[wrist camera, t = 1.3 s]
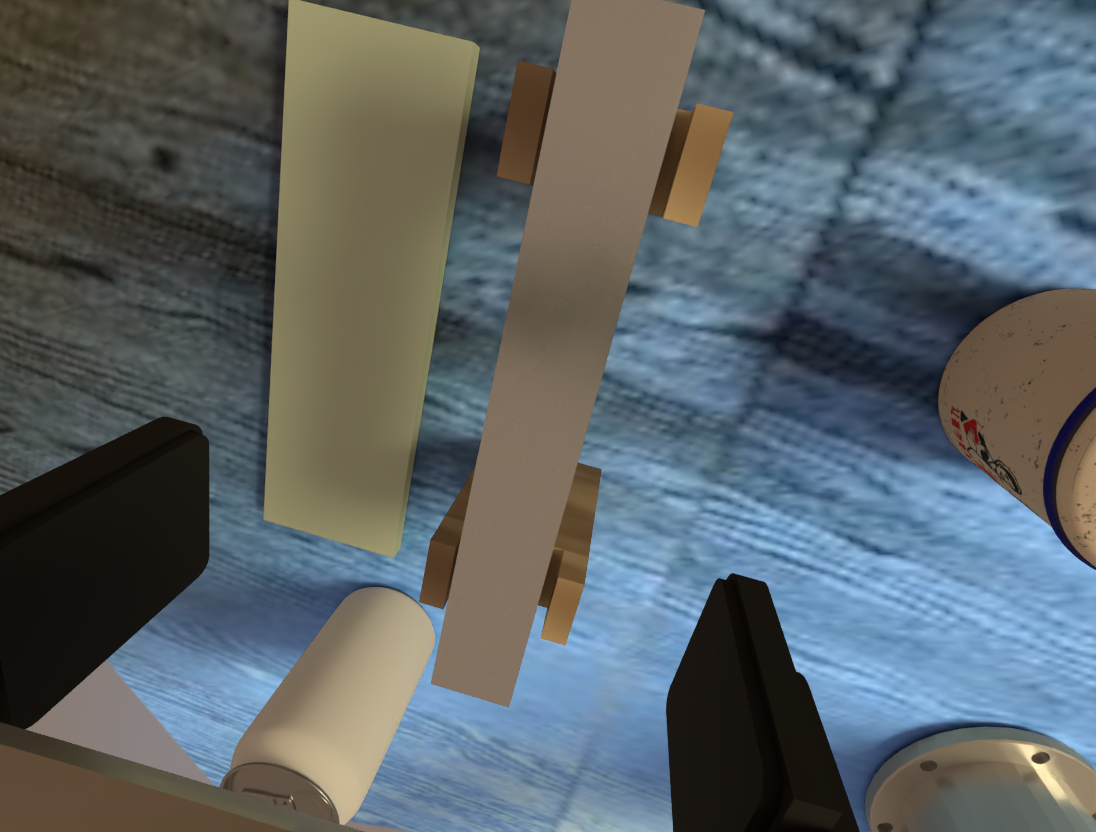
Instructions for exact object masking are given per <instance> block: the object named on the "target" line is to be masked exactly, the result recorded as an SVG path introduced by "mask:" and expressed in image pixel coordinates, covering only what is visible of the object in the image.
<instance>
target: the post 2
mask: <svg viewBox="0 0 1096 832" xmlns="http://www.w3.org/2000/svg"><path fill="white" fill-rule="evenodd" d="M555 78H556V72H555V71H554V69H551V68H547V67H543V66H539V65H535V64H531V63H526V62H522V61H518V62H517V67H516V73H515V78H514V84H513V89H512V95H511V100H510V106H509V111H508V117H507V122H506V128H505V133H504V139H503V144H502V150H501V155H500V161H499V166H498V172H497V177H501V178H505V179H509V180H513V181H517V182H521V183H525V184H529V185H534V180H535V176H536V171H537V166H538V161H539V156H540V151H541V146H542V142H543V137H544V132H545V127H546V122H547V117H548V112H549V108H550V103H551V98H552V93H553V88H554V83H555ZM732 115H733V112H730V111H726V110H722V109H718V108H714V107H709V106H705V105H701V104H696V106H695V107H694V109H693V111H692V112H688V111H684V110H680V109H677V112H676V115H675V119H674V123H673V126H672V130H671V133H670V137H669V140H668V144H667V147H666V151H665V155H664V158H663V162H662V165H661V169H660V172H659V176H658V179H657V183H656V187H655V190H654V194H653V197H652V201H651V204H650V208H649V211H648V213H650V214H654V215H658V216H662V217H663V218H664V219H668V220H672V221H676V222H680V223H684V224H687V225H691V226H695V227H697V226H698V223H699V220H700V217H701V214H702V211H703V207H704V204H705V201H706V198H707V195H708V192H709V188H710V185H711V182H712V179H713V176H714V172H715V169H716V166H717V163H718V160H719V157H720V153H721V150H722V147H723V144H724V141H725V138H726V134H727V131H728V128H729V125H730V122H731V119H732Z"/></svg>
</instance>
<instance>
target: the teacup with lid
mask: <svg viewBox="0 0 1096 832" xmlns="http://www.w3.org/2000/svg"><path fill="white" fill-rule="evenodd" d="M938 407H939V415H940V419H941V423H942V426H943V428H944V431H945V433H946V435H947V436H948V438H949V440H950V441H951V442H952V444H953V445H954V446H955V448H956V449H957V450H958V451H959V452H960V453H961V454H962V455H964V456H965V457H966V458H967V459H969V460H970V461H971V462H972V463H973V464H975V465H976V466H977V467H978V468H980V469H981V470H982V471H983V472H985V473H986V474H987V475H988V476H989V477H991V478H992V479H993V480H994V481H996V482H997V483H998V484H999V485H1001V486H1002V487H1003V488H1004V489H1005V490H1007V491H1008V492H1009V493H1010V494H1012V495H1013V496H1014V497H1015V498H1017V499H1018V500H1019V501H1020V502H1021V503H1023V504H1024V505H1025V506H1026V507H1028V508H1029V509H1030V510H1031V511H1033V512H1034V513H1035V514H1036V515H1037V516H1039V517H1040V518H1041V519H1042V520H1044V521H1045V522H1046V523H1047V524H1049V525H1050V526H1051V527H1052V528H1053V530H1054V532H1055V533H1056V535H1057V536H1058V538H1059V539H1060V540H1061V542H1062V543H1063V544H1064V546H1065V547H1066V548H1067V549H1068V550H1069V551H1070V552H1071V553H1072V554H1073V555H1075V556H1076V557H1077V558H1078V559H1080V560H1081V561H1082V562H1084V563H1085V564H1087V565H1088V566H1090V567H1091V568H1093V569H1095V570H1096V290H1093V289H1079V288H1076V289H1059V290H1052V291H1047V292H1042V293H1039V294H1035V295H1032V296H1029V297H1026V298H1023V299H1021V300H1018V301H1016V302H1014V303H1012V304H1009V305H1007V306H1006V307H1004V308H1002V309H1000V310H998V311H997V312H995V313H994V314H992V315H991V316H989V317H988V318H986V319H985V320H984V321H982V322H981V323H980V324H979V325H978V326H976V327H975V328H974V329H973V330H972V331H971V332H970V333H969V334H968V335H967V336H966V337H965V338H964V339H963V341H962V342H961V343H960V345H959V346H958V347H957V348H956V350H955V352H954V353H953V355H952V356H951V358H950V360H949V362H948V364H947V366H946V368H945V370H944V373H943V376H942V379H941V383H940V388H939V396H938Z"/></svg>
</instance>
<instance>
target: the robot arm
mask: <svg viewBox="0 0 1096 832" xmlns="http://www.w3.org/2000/svg"><path fill="white" fill-rule="evenodd" d="M208 560H209V440H208V439H207V437H206V436H204V435H203V433H202V430H201V428H200V427H199V426H197V425H195V424H192V423H188V422H184V421H181V420H177V419H173V418H170V417H161V418H158V419H156V420H154V421H152V422H149V423H147V424H145V425H143V426H141V427H139V428H137V429H135V430H133V431H131V432H129V433H127V434H125V435H123V436H121V437H119V438H117V439H115V440H113V441H111V442H108V443H106V444H104V445H102V446H100V447H98V448H96V449H94V450H92V451H90V452H88V453H86V454H84V455H82V456H80V457H78V458H76V459H74V460H72V461H70V462H67V463H65V464H63V465H61V466H59V467H57V468H55V469H53V470H51V471H49V472H47V473H45V474H43V475H41V476H39V477H37V478H35V479H33V480H31V481H29V482H27V483H24V484H22V485H20V486H18V487H16V488H14V489H12V490H10V491H8V492H6V493H4V494H2V495H0V832H363V831H360V830H357V829H353V828H350V827H347V826H344V825H341V824H337V823H334V822H331V821H327V820H324V819H321V818H318V817H314V816H311V815H308V814H304V813H301V812H298V811H295V810H291V809H288V808H285V807H281V806H278V805H275V804H272V803H268V802H265V801H262V800H258V799H255V798H252V797H249V796H245V795H242V794H239V793H235V792H232V791H229V790H225V789H222V788H219V787H216V786H212V785H209V784H205V783H202V782H199V781H196V780H192V779H189V778H186V777H182V776H179V775H176V774H173V773H169V772H166V771H162V770H159V769H156V768H152V767H149V766H146V765H143V764H139V763H136V762H132V761H129V760H126V759H122V758H119V757H116V756H112V755H109V754H105V753H102V752H99V751H95V750H92V749H89V748H85V747H82V746H79V745H75V744H72V743H69V742H65V741H62V740H59V739H55V738H52V737H48V736H45V735H41V734H38V733H34V732H31V731H28V730H25V729H26V728H29V727H30V726H32V725H33V724H34V723H36V722H37V721H38V720H39V719H40V718H42V717H43V716H44V715H45V714H46V713H47V712H48V711H50V710H51V709H52V708H53V707H54V706H55V705H56V704H57V703H58V702H60V701H61V700H62V699H63V698H64V697H65V696H66V695H67V694H68V693H70V692H71V691H72V690H73V689H74V688H75V687H76V686H77V685H79V684H80V683H81V682H82V681H83V680H84V679H85V678H86V677H87V676H89V675H90V674H91V673H92V672H93V671H94V670H95V669H96V668H98V666H100V665H101V664H102V663H103V662H104V661H105V660H106V659H108V658H109V657H110V656H111V655H112V654H113V653H114V652H115V651H116V650H118V649H119V648H120V647H121V646H122V645H123V644H124V643H125V642H126V641H128V640H129V639H130V638H131V637H132V636H133V635H134V634H135V633H137V632H138V631H139V630H140V629H141V628H142V627H143V626H144V625H145V624H147V623H148V622H149V621H150V620H151V619H152V618H153V617H154V616H155V615H157V614H158V613H159V612H160V611H161V610H162V609H163V608H164V607H166V606H167V605H168V604H169V603H170V602H171V601H172V600H173V599H174V598H176V597H177V596H178V595H179V594H180V593H181V592H182V591H183V590H184V589H186V588H187V587H188V586H189V585H190V584H191V583H192V582H193V581H195V580H196V579H197V578H198V577H199V576H200V575H201V574H202V572H203V571H204V569H205V568H206V565H207V563H208ZM666 717H667V734H668V750H669V767H670V784H671V801H672V818H673V832H860V831H859V829H858V826H857V823H856V820H855V817H854V814H853V811H852V808H851V806H850V803H849V800H848V797H847V794H846V791H845V788H844V785H843V783H842V780H841V777H840V774H839V771H838V768H837V765H836V762H835V760H834V757H833V754H832V751H831V748H830V745H829V742H828V739H827V737H826V734H825V731H824V728H823V725H822V722H821V719H820V716H819V714H818V711H817V708H816V705H815V702H814V699H813V696H812V693H811V690H810V688H809V685H808V683H807V681H806V679H805V677H804V676H803V675H801V674H800V673H798V672H796V670H795V667H794V664H793V661H792V658H791V655H790V652H789V649H788V646H787V643H786V640H785V637H784V634H783V631H782V628H781V625H780V622H779V619H778V616H777V613H776V610H775V607H774V604H773V601H772V598H771V595H770V592H769V589H768V586H767V584H766V583H765V582H763V581H759V580H756V579H752V578H748V577H745V576H741V575H738V574H734V573H732V574H730V575H729V576H728V578H727V579H726V580H724V579H720V578H719V579H717V580H716V582H715V583H714V585H713V588H712V590H711V592H710V595H709V597H708V599H707V602H706V604H705V606H704V609H703V611H702V614H701V616H700V618H699V621H698V623H697V625H696V628H695V630H694V632H693V635H692V637H691V639H690V642H689V644H688V646H687V649H686V651H685V653H684V656H683V658H682V660H681V663H680V665H679V667H678V670H677V672H676V674H675V677H674V679H673V681H672V684H671V686H670V689H669V692H668V696H667V703H666ZM865 810H866V818H867V821H868V823H869V826H870V829H871V832H1096V771H1095V769H1094V768H1093V767H1092V766H1091V764H1090V763H1089V762H1088V761H1087V760H1086V759H1085V758H1083V757H1082V756H1081V755H1080V754H1078V753H1077V752H1076V751H1075V750H1073V749H1072V748H1070V747H1068V746H1066V745H1064V744H1062V743H1061V742H1059V741H1057V740H1055V739H1052V738H1049V737H1046V736H1043V735H1040V734H1037V733H1034V732H1030V731H1024V730H1019V729H1013V728H1005V727H973V728H961V729H956V730H951V731H947V732H942V733H938V734H935V735H932V736H930V737H927V738H924V739H921V740H919V741H916V742H915V743H913V744H911V745H909V746H907V747H905V748H904V749H902V750H900V751H899V752H898V753H896V754H895V755H894V756H893V757H891V758H890V759H889V760H887V761H886V762H885V763H884V764H883V766H882V767H881V768H880V769H879V770H878V772H877V773H876V774H875V775H874V777H873V779H872V781H871V783H870V785H869V787H868V789H867V794H866V799H865Z"/></svg>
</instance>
